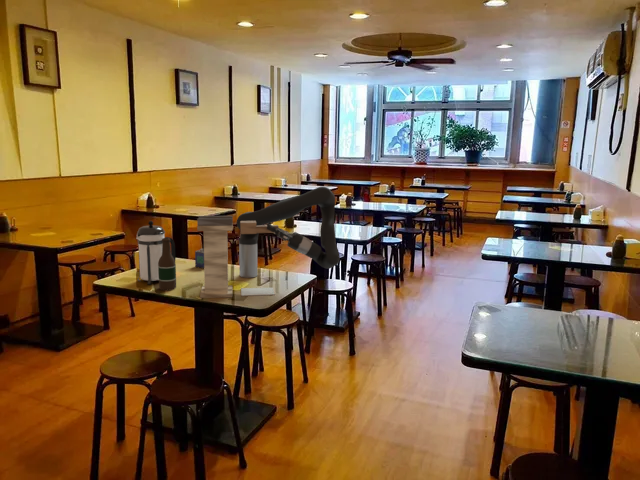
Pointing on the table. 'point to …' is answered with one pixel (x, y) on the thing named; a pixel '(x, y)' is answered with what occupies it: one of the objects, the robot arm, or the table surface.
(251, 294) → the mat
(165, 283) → the beer bottle
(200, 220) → the pedestal
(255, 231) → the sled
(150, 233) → the coffee press
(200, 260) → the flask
